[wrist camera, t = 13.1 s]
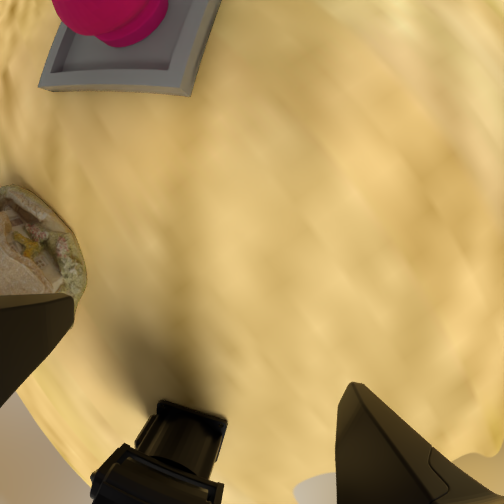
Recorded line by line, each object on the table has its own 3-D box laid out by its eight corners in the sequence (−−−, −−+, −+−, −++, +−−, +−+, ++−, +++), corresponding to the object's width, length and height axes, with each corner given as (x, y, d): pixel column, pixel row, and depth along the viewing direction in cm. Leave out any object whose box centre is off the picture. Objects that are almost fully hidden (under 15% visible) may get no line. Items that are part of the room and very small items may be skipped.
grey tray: (238, -42, 16) (233, -57, 14) (190, 96, 19) (179, 87, 17) (103, -29, 17) (92, -39, 15) (53, 91, 21) (37, 87, 18)
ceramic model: (111, 275, 23) (25, 322, 14) (60, 345, 26) (-4, 393, 16) (27, 164, 22) (-56, 166, 13) (-9, 245, 25) (-76, 265, 15)
